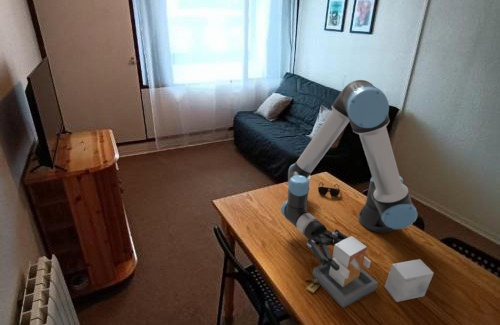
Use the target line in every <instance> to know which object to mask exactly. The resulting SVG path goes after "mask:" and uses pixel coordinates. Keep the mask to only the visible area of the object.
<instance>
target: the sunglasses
mask: <svg viewBox="0 0 500 325" xmlns="http://www.w3.org/2000/svg"><path fill="white" fill-rule="evenodd" d="M321 184H322V186H320V185H321ZM323 185H324V183H323V182H321V181H320V182H319V183H318V186H317V187H318V188H317V190H318V194H319V195H322V196H326V195H327V194H328V193H329V194H330V197H338V196H339V194H340V193H341V190H340V186H339V185H338V184H337V183H336V184H334V185H333V187H327V186H323ZM336 186H337V187H338V188H335V187H336Z"/></svg>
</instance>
